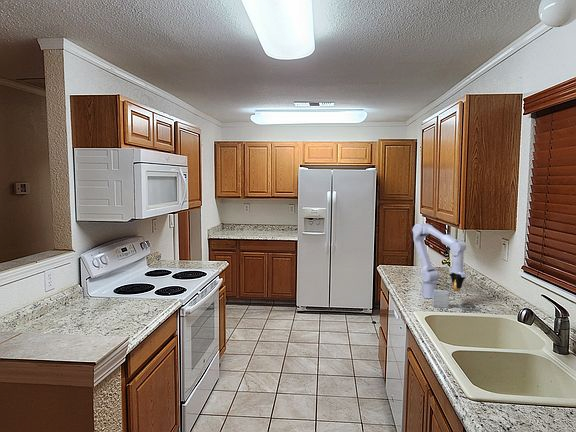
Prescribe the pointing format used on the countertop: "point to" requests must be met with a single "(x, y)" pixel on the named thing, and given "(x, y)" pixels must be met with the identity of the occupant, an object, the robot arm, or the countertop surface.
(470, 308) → the junction plate
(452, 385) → the countertop surface
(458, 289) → the wire nut cap
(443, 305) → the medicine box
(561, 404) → the countertop surface
